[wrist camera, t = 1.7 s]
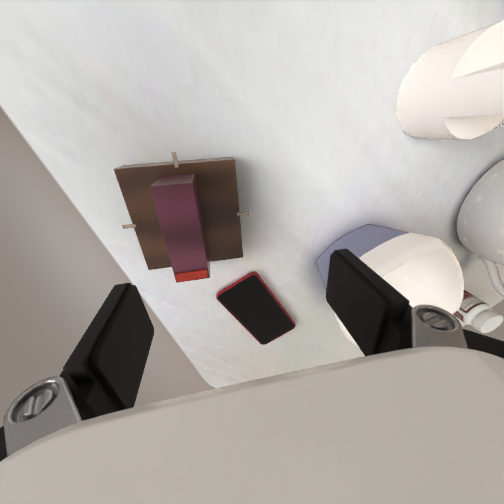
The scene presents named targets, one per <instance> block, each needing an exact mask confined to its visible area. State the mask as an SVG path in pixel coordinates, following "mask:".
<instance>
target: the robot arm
mask: <svg viewBox="0 0 504 504" xmlns="http://www.w3.org/2000/svg"><path fill="white" fill-rule="evenodd" d="M326 299H327V302H328V303H329V305H330V306H331V308H332V309H333V311H334V312H335V313H336V315H337V316H338V318H339V319H340V321H341V322H342V323H343V325H344V326H345V328H346V329H347V331H348V332H349V333H350V335H351V336H352V338H353V339H354V341H355V342H356V343H357V345H358V346H359V348H360V349H361V351H362V352H363V353H364V355H365V357H360V358H355V359H350V360H346V361H341V362H336V363H332V364H327V365H322V366H317V367H313V368H308V369H303V370H299V371H294V372H290V373H285V374H280V375H276V376H271V377H267V378H262V379H257V380H253V381H248V382H244V383H239V384H235V385H230V386H225V387H221V388H216V389H212V390H208V391H203V392H199V393H194V394H190V395H185V396H181V397H177V398H172V399H167V400H163V401H158V402H154V403H150V404H146V405H142V406H138V407H134V404H135V400H136V397H137V393H138V389H139V386H140V382H141V379H142V375H143V371H144V368H145V364H146V361H147V357H148V353H149V350H150V346H151V342H152V339H153V335H154V327H153V325H152V322H151V320H150V318H149V315H148V313H147V311H146V308H145V306H144V304H143V301H142V299H141V296H140V294H139V292H138V289H137V287H136V286H135V285H132V284H131V283H125V284H118V285H115V286H114V287H113V289H112V290H111V292H110V294H109V295H108V297H107V298H106V300H105V302H104V303H103V305H102V307H101V308H100V310H99V311H98V313H97V314H96V316H95V318H94V319H93V321H92V322H91V324H90V326H89V327H88V329H87V330H86V332H85V334H84V335H83V337H82V338H81V340H80V342H79V343H78V345H77V346H76V348H75V350H74V351H73V353H72V354H71V356H70V358H69V359H68V361H67V362H66V364H65V366H64V367H63V369H64V370H63V371H62V373H61V374H60V376H59V377H50V378H47V379H44V380H41V381H39V382H38V383H36V384H34V385H32V386H31V387H29V388H28V389H27V390H25V391H24V392H23V393H21V394H20V395H19V396H18V397H17V398H16V399H15V400H14V401H13V403H12V404H11V405H10V406H9V408H8V410H7V412H6V413H5V416H4V421H3V424H4V426H2V427H1V428H0V504H504V341H501V340H497V339H494V338H491V337H488V336H484V335H481V334H478V333H475V332H471V331H468V330H465V329H462V326H461V324H460V322H459V320H458V319H457V318H456V317H455V316H454V315H452V314H451V313H449V312H448V311H446V310H444V309H442V308H439V307H436V306H432V305H417V306H415V307H412V306H411V305H409V302H410V301H409V300H408V299H407V298H406V297H404V296H403V295H402V294H401V293H400V292H398V291H397V290H396V289H395V288H394V287H392V286H391V285H390V284H389V283H388V282H386V281H385V280H384V279H383V278H382V277H381V276H379V275H378V274H377V273H376V272H375V271H373V270H372V269H371V268H370V267H369V266H367V265H366V264H365V263H364V262H363V261H361V260H360V259H359V258H358V257H357V256H355V255H354V254H353V253H352V252H351V251H350V250H348V249H347V248H345V249H338V250H334V252H333V253H332V254H331V255H330V262H329V271H328V280H327V289H326Z"/></svg>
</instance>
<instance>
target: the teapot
mask: <svg viewBox="0 0 504 504" xmlns="http://www.w3.org/2000/svg"><path fill="white" fill-rule="evenodd" d="M457 234H458V237H459V239H460V241H461V243H462V244H463V245H464V246H465V247H466V248H467V249H468V250H470V251H471V252H473V253H474V254H476V255H477V257H478V258H479V259H480V260H482V262H483V263H484V264H485V265H486V268H487V270H488V274H489V277H490V280H491V283H492V285H493V286H494V288H495V289H496V291H497V292H498V293H499V294H500V295H502V296H503V297H504V285H503V283H502V281H501V279H500V276H499V271H498V268H497V265H496V263H499V264H504V159H503V160H501V161H500V162H498V163H497V164H496V165H494V166H493V167H492V168H491V169H489V170H488V171H487V172H486V173H485V174H484V175H483V176H482V177H481V178H480V179H479V180H478V181H477V183H476V184H475V185H474V186H473V188H472V189H471V190H470V192H469V193H468V195H467V197H466V198H465V200H464V202H463V204H462V206H461V209H460V211H459V215H458V219H457Z"/></svg>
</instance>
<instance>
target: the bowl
mask: <svg viewBox="0 0 504 504" xmlns="http://www.w3.org/2000/svg"><path fill="white" fill-rule="evenodd" d="M345 248H347V249H348V250H350V251H351V252H352V253H353V254H354V255H355V256H357V257H358V258H359V259H360V260H361V261H363V262H364V263H365V264H366V265H367V266H369V267H370V268H371V269H372V270H373V271H375V272H376V273H377V274H378V275H379V276H381V277H382V278H383V279H384V280H385V281H386V282H388V283H389V284H390V285H391V286H392V287H394V288H395V289H396V290H397V291H398V292H400V293H401V294H402V295H403V296H404V297H406V298H407V299H408V300H409V301H410V302H409V305H411V306H412V307H415V306H417V305H432V306H436V307H439V308H442V309H444V310H446V311H448V312H449V313H451V314H454V313H455V312H456V311H457V310H458V309H459V308H460V306H461V303H462V300H463V293H464V280H463V273H462V270H461V267H460V264H459V262H458V260H457V258H456V256H455V254H454V252H453V251H452V249H451V248H450V247H449V245H447V244H446V243H445V242H444V241H442V240H441V239H439V238H435V237H431V236H426V235H421V234H416V233H409V232H404V231H399V230H395V229H390V228H385V227H380V226H375V225H365V226H362V227H360V228H358V229H356V230H354V231H351V232H349V233H348V234H346V235H344V236H343V237H341V238H340V239H338V240H337V241H336V242H335V243H333V244H332V245H331V246H330V247H329V248H328V249H327V250H326V251H324V252H323V253H322V254H321V256H320V257H319V258H318V260H317V268H318V270H319V273H320V276H321V278H322V281H323V284H324V286H325V289H327V280H328V271H329V262H330V255H331V254H332V253H333V252H334V250H338V249H345ZM334 314H335V317H336V319H337V321H338V324H339V326H340V328H341V330H342V331H343V333H344V335H345V336H346V337H347V338H348V339H349V340H350V341H351V342H352V343H353V344H355V345H356V346H357V347H359V346H358V345H357V343H356V342H355V341H354V339H353V338H352V336H351V335H350V333H349V332H348V331H347V329H346V328H345V326H344V325H343V323H342V322H341V321H340V319H339V318H338V316H337V315H336V313H335V312H334Z"/></svg>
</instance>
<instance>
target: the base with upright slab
mask: <svg viewBox="0 0 504 504" xmlns="http://www.w3.org/2000/svg"><path fill="white" fill-rule="evenodd" d="M396 111H397V119H398V122H399V126H400V127H401V129H402V130H403V131H404V133H406V134H407V135H409V136H411V137H416V138H437V139H472V138H477V137H479V136H481V135H484V134H486V133H488V132H489V131H491V130H492V129H493V128H495V127H496V126H497V125H499V124H500V123H501V122H502V121H503V120H504V20H503V21H500V22H497V23H495V24H492V25H489V26H487V27H484V28H481V29H479V30H476V31H473V32H471V33H468V34H465V35H463V36H460V37H458V38H455V39H452V40H450V41H447V42H444V43H442V44H439V45H437V46H435V47H433V48H431V49H429V50H427V51H426V52H425V53H424V54H423V55H421V56H420V57H419V58H418V59H417V60H416V62H415V63H414V64H413V65H412V67H411V68H410V69H409V71H408V73H407V75H406V76H405V78H404V80H403V82H402V85H401V88H400V91H399V93H398V99H397V105H396Z"/></svg>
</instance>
